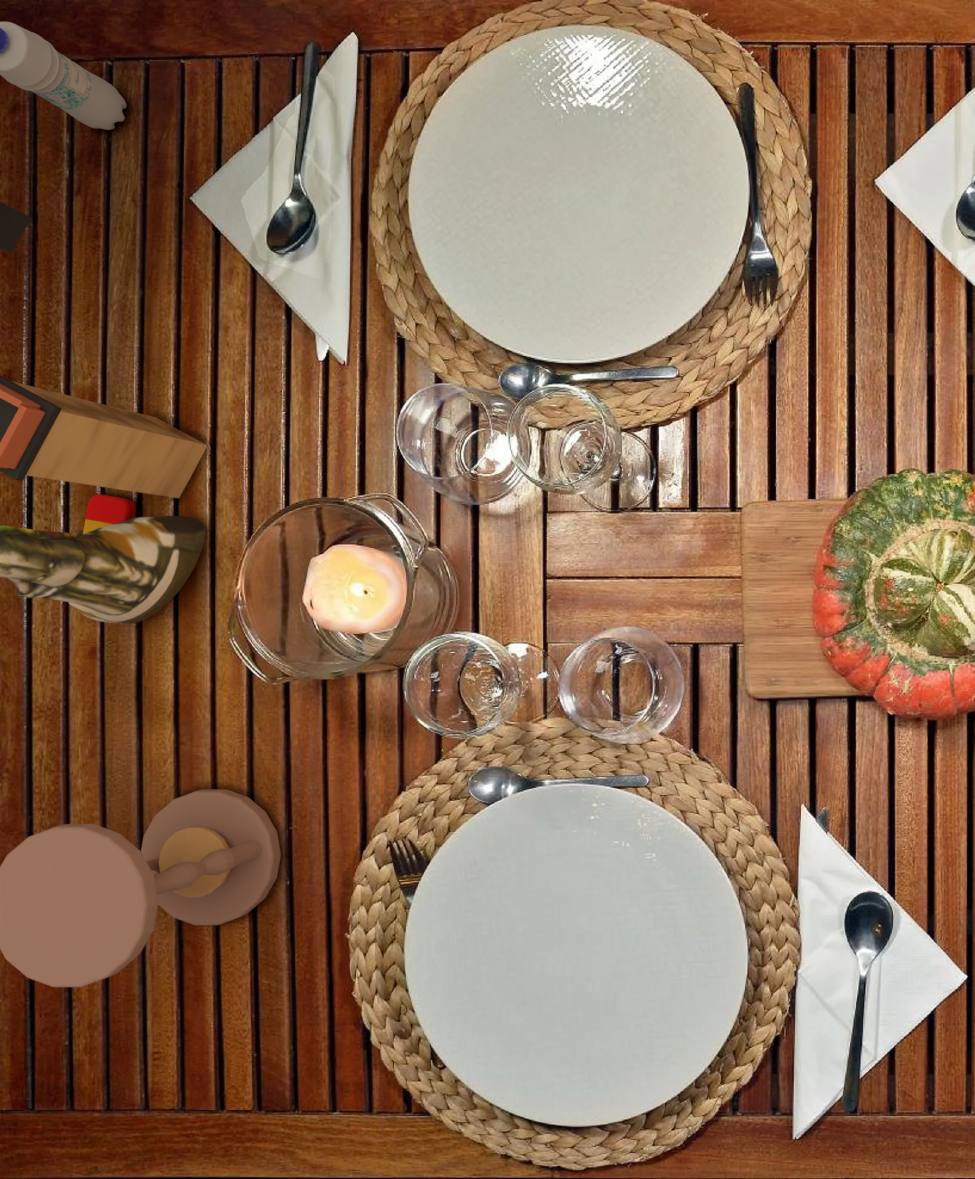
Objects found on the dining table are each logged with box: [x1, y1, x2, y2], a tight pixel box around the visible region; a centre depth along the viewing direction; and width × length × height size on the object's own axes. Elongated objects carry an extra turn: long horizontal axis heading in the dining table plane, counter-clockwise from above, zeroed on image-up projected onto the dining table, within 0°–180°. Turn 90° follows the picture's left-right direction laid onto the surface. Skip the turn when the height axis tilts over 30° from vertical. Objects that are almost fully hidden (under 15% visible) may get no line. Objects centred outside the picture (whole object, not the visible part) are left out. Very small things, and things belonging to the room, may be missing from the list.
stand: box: [11, 380, 208, 499], centre depth 130 cm, size 8×8×25 cm
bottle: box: [0, 21, 127, 131], centre depth 133 cm, size 7×7×20 cm
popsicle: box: [82, 493, 137, 533], centre depth 141 cm, size 6×15×2 cm, turn 170°
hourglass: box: [0, 788, 282, 988], centre depth 128 cm, size 18×18×25 cm
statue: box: [0, 514, 207, 625], centre depth 124 cm, size 16×11×35 cm, turn 142°
